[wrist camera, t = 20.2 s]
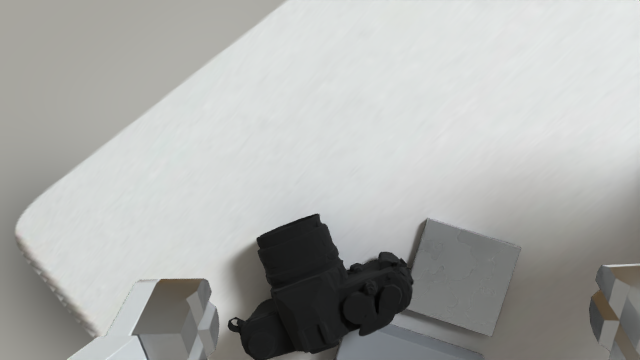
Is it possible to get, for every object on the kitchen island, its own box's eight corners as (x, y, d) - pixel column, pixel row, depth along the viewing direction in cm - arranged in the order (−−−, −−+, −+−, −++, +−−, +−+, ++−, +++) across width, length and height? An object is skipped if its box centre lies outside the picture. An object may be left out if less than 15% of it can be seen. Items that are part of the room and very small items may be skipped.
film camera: (379, 188, 45) (380, 195, 36) (418, 291, 45) (429, 323, 36) (223, 247, 46) (187, 267, 37) (260, 346, 46) (234, 389, 37)
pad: (517, 245, 44) (521, 247, 43) (488, 332, 44) (491, 336, 43) (427, 217, 44) (428, 219, 43) (400, 303, 45) (400, 307, 44)
